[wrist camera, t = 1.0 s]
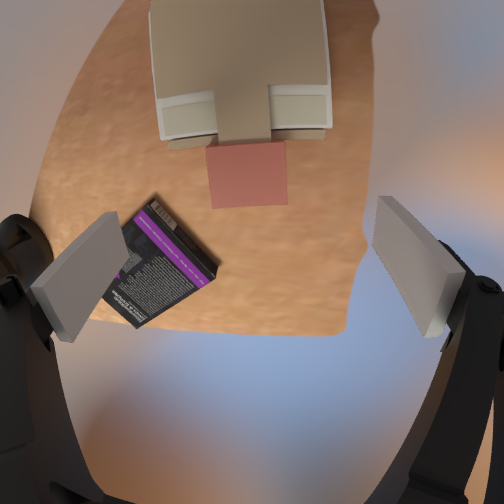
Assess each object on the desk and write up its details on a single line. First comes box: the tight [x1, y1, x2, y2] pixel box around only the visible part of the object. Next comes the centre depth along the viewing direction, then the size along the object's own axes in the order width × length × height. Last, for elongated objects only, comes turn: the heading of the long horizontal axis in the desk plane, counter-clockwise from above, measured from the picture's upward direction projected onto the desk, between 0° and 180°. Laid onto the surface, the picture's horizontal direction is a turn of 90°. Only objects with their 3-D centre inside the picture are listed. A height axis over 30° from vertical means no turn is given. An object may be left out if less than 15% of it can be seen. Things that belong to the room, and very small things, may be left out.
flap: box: [150, 0, 328, 209], centre depth 19 cm, size 13×18×2 cm
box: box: [102, 199, 218, 329], centre depth 42 cm, size 14×4×20 cm
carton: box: [148, 0, 333, 150], centre depth 24 cm, size 14×13×12 cm
